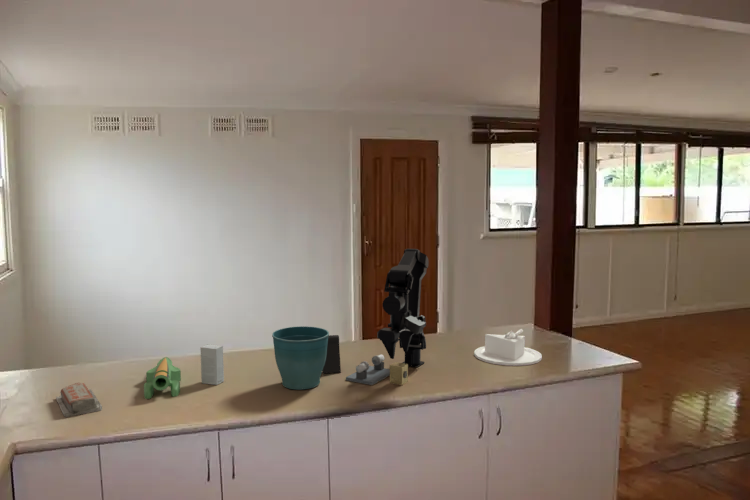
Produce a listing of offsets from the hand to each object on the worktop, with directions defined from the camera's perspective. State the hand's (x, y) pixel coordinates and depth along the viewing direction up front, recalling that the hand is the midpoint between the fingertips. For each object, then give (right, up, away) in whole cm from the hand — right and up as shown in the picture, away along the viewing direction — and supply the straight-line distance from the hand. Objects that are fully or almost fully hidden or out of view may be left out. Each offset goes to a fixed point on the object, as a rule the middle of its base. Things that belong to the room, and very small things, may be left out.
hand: (398, 355), depth 200 cm
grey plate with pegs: (-9, -8, +7) cm, 14 cm away
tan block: (0, -9, +1) cm, 9 cm away
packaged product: (-94, -12, -20) cm, 97 cm away
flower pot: (-32, -9, -2) cm, 33 cm away
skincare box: (-61, -9, 0) cm, 61 cm away
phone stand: (-23, -8, +14) cm, 28 cm away
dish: (+42, -6, +32) cm, 53 cm away
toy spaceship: (-77, -9, +1) cm, 77 cm away
